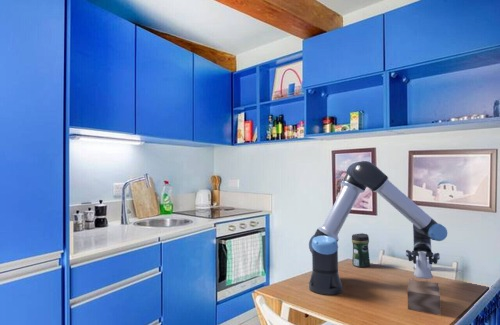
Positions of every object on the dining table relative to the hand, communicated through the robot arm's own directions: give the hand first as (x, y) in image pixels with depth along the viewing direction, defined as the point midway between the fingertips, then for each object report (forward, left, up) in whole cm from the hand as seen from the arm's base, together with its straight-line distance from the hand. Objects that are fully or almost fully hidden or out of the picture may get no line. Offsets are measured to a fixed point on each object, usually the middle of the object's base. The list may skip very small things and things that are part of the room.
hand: (422, 263), depth 126 cm
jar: (0, +60, -17) cm, 62 cm away
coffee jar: (-32, +50, -17) cm, 62 cm away
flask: (0, +3, -6) cm, 7 cm away
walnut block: (0, +3, -17) cm, 17 cm away
